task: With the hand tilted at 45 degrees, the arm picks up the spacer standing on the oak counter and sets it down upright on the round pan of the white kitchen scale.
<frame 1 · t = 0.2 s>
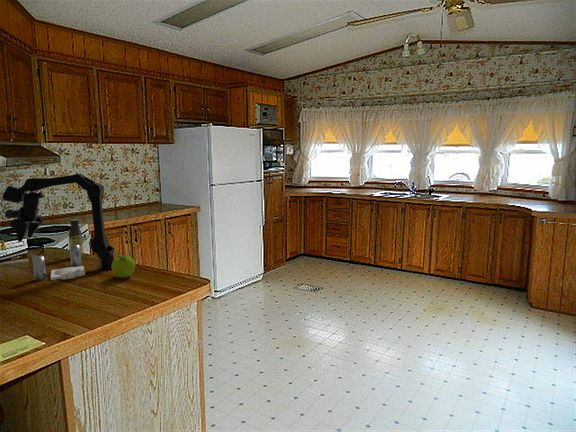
hand: (24, 239, 180), 16 cm above the countertop, tool tilted 15°, fingers open, 9 cm apart
spacer: (40, 279, 172), on the countertop
fruit: (124, 277, 174), on the countertop
scale: (68, 274, 180), on the countertop
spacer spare: (76, 265, 194), on the countertop
sauce bottle: (77, 257, 210), on the countertop
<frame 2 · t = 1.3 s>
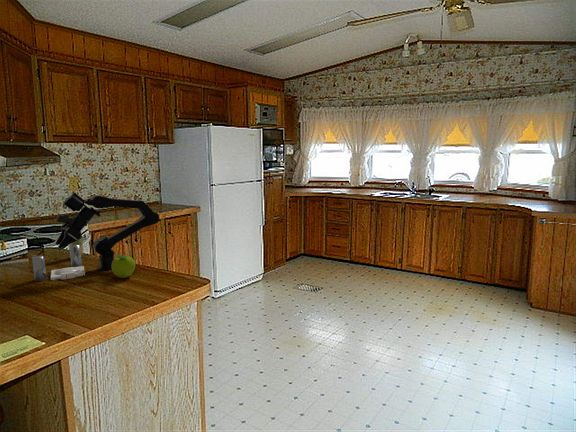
hand: (57, 246, 175), 13 cm above the countertop, tool tilted 45°, fingers open, 9 cm apart
nothing on the countertop moved.
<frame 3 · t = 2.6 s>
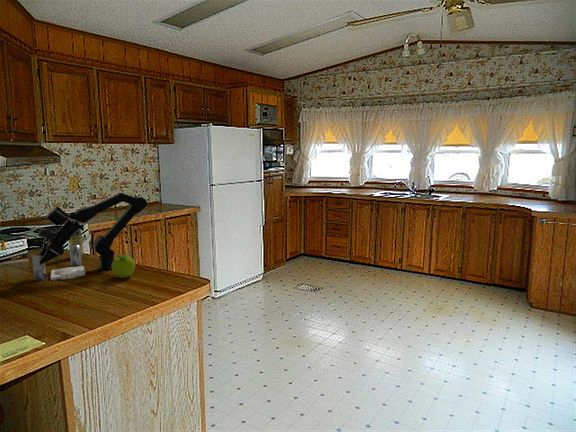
hand: (39, 261, 171), 8 cm above the countertop, tool tilted 45°, fingers open, 9 cm apart
nothing on the countertop moved.
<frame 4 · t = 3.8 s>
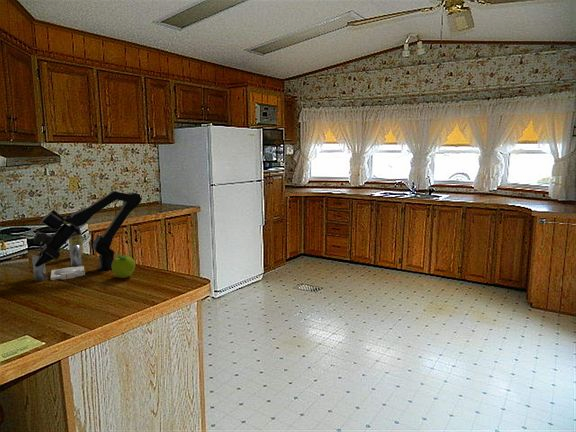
hand: (35, 265, 171), 7 cm above the countertop, tool tilted 45°, fingers closed on spacer, 4 cm apart
spacer: (40, 279, 172), on the countertop, touching gripper
everything else where it was.
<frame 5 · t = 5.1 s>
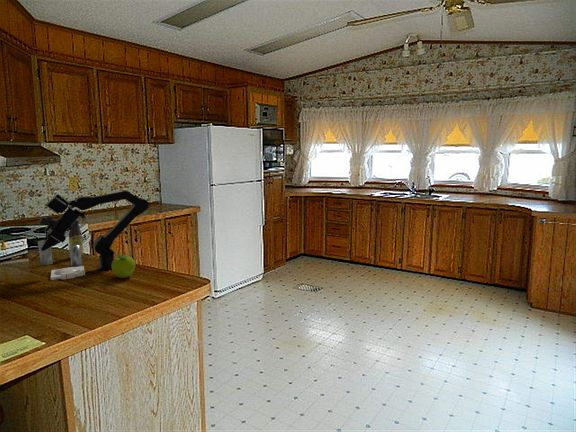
hand: (41, 249, 172), 13 cm above the countertop, tool tilted 45°, fingers closed on spacer, 4 cm apart
spacer: (47, 263, 173), point 6 cm above the countertop, touching gripper
everything else where it was.
when the fingers open (9 cm above the countertop, at t = 6.7 s): spacer stays where it is, resting on scale.
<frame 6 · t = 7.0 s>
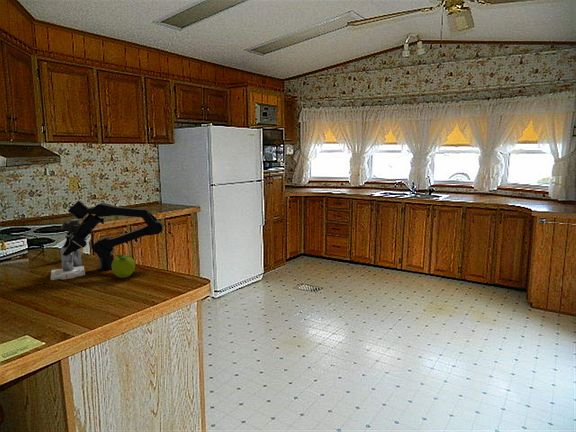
hand: (62, 253, 178), 10 cm above the countertop, tool tilted 45°, fingers open, 7 cm apart
spacer: (68, 270, 180), point 2 cm above the countertop, touching scale
everything else where it was.
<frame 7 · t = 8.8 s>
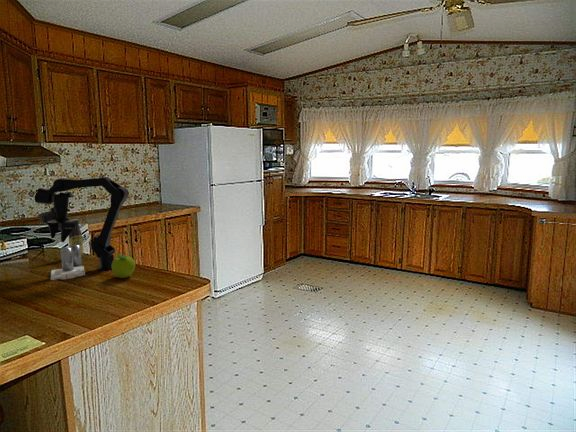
hand: (57, 240, 183), 14 cm above the countertop, tool pointing down, fingers open, 9 cm apart
nothing on the countertop moved.
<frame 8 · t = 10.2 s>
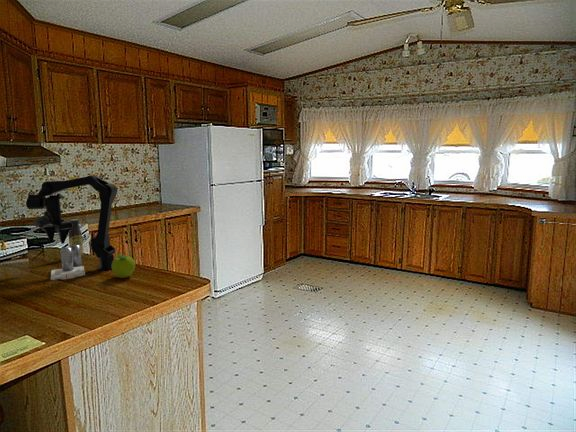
hand: (57, 242, 185), 13 cm above the countertop, tool pointing down, fingers open, 9 cm apart
nothing on the countertop moved.
at the end: spacer inside the target area on the scale (0.1 cm from its centre), point 1.8 cm above the scale's base; spacer tilted 0°; the gripper is holding nothing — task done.
